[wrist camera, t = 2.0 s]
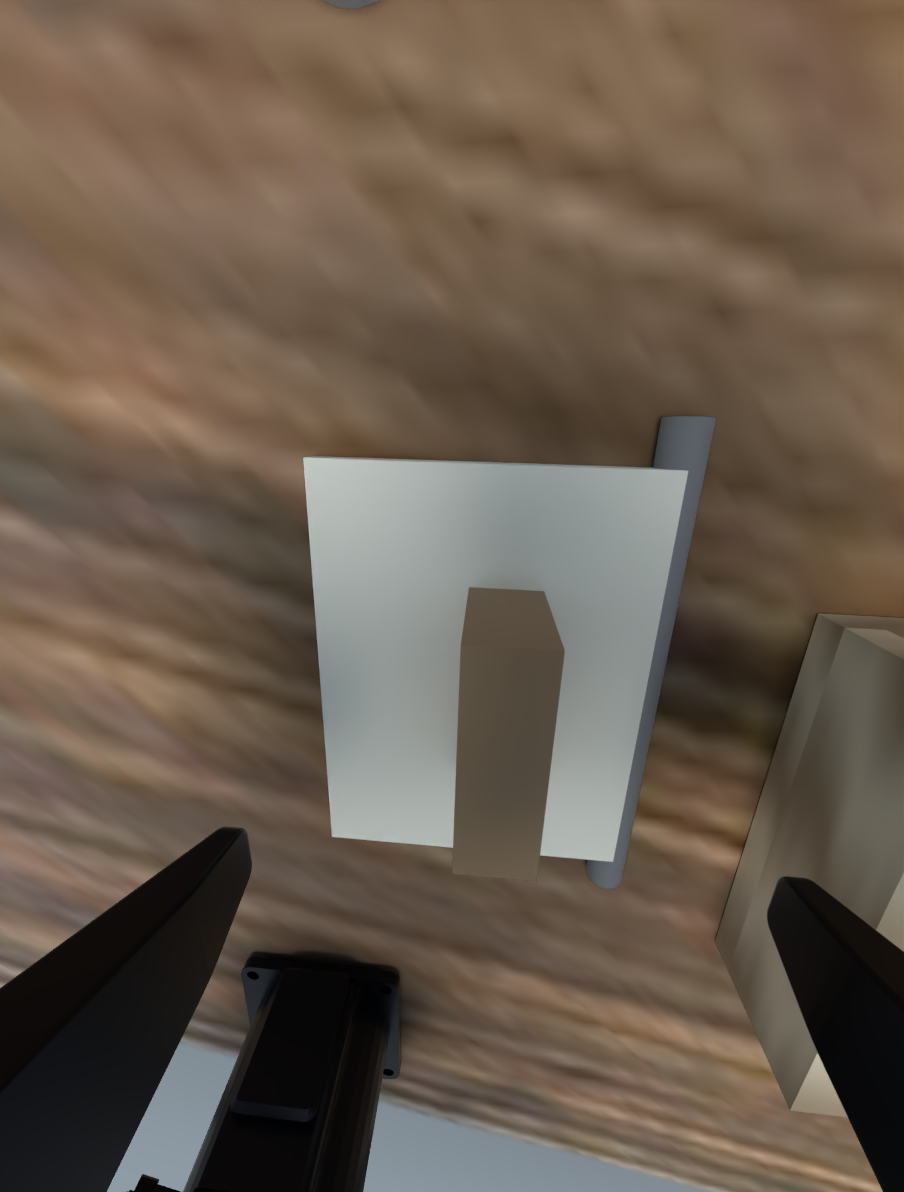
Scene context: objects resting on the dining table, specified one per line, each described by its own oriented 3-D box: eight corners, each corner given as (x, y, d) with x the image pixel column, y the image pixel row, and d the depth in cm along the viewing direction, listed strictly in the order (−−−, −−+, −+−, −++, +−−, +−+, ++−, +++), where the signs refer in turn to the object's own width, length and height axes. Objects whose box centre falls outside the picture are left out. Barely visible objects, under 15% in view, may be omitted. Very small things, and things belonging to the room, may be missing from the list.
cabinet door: (316, 408, 12) (215, 392, 8) (702, 418, 12) (839, 408, 7) (344, 834, 17) (292, 977, 13) (616, 859, 16) (664, 1019, 12)
